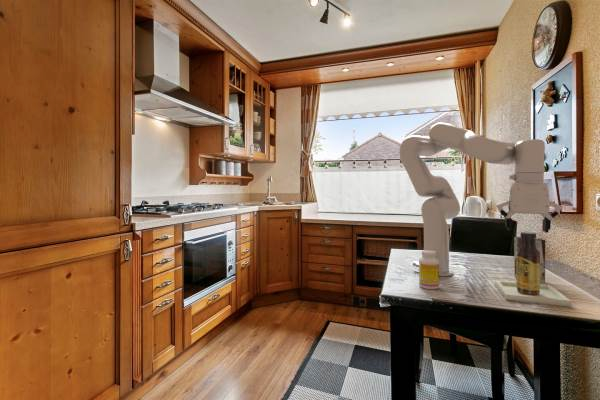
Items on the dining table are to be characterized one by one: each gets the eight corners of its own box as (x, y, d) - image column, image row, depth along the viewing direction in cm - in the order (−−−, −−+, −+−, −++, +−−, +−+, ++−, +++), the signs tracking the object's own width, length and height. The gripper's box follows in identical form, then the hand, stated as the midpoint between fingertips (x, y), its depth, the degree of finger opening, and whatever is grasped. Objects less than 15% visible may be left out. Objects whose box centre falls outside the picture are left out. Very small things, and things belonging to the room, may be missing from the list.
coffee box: (546, 284, 108) (546, 240, 108) (526, 283, 110) (526, 239, 109) (532, 277, 117) (532, 236, 117) (513, 276, 119) (513, 236, 118)
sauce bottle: (512, 289, 101) (510, 231, 101) (530, 289, 101) (529, 230, 101) (526, 296, 95) (524, 233, 95) (546, 295, 95) (544, 233, 95)
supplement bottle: (441, 290, 104) (441, 253, 104) (421, 289, 105) (421, 253, 105) (436, 284, 111) (436, 249, 110) (417, 283, 112) (417, 249, 111)
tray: (505, 300, 94) (505, 294, 94) (495, 285, 108) (495, 280, 108) (570, 306, 88) (570, 300, 87) (550, 290, 102) (550, 284, 102)
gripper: (499, 178, 97) (498, 231, 98) (567, 178, 90) (565, 234, 91) (495, 179, 104) (493, 228, 105) (557, 178, 97) (555, 230, 98)
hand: (527, 231), depth 98 cm, fingers open, 9 cm apart
